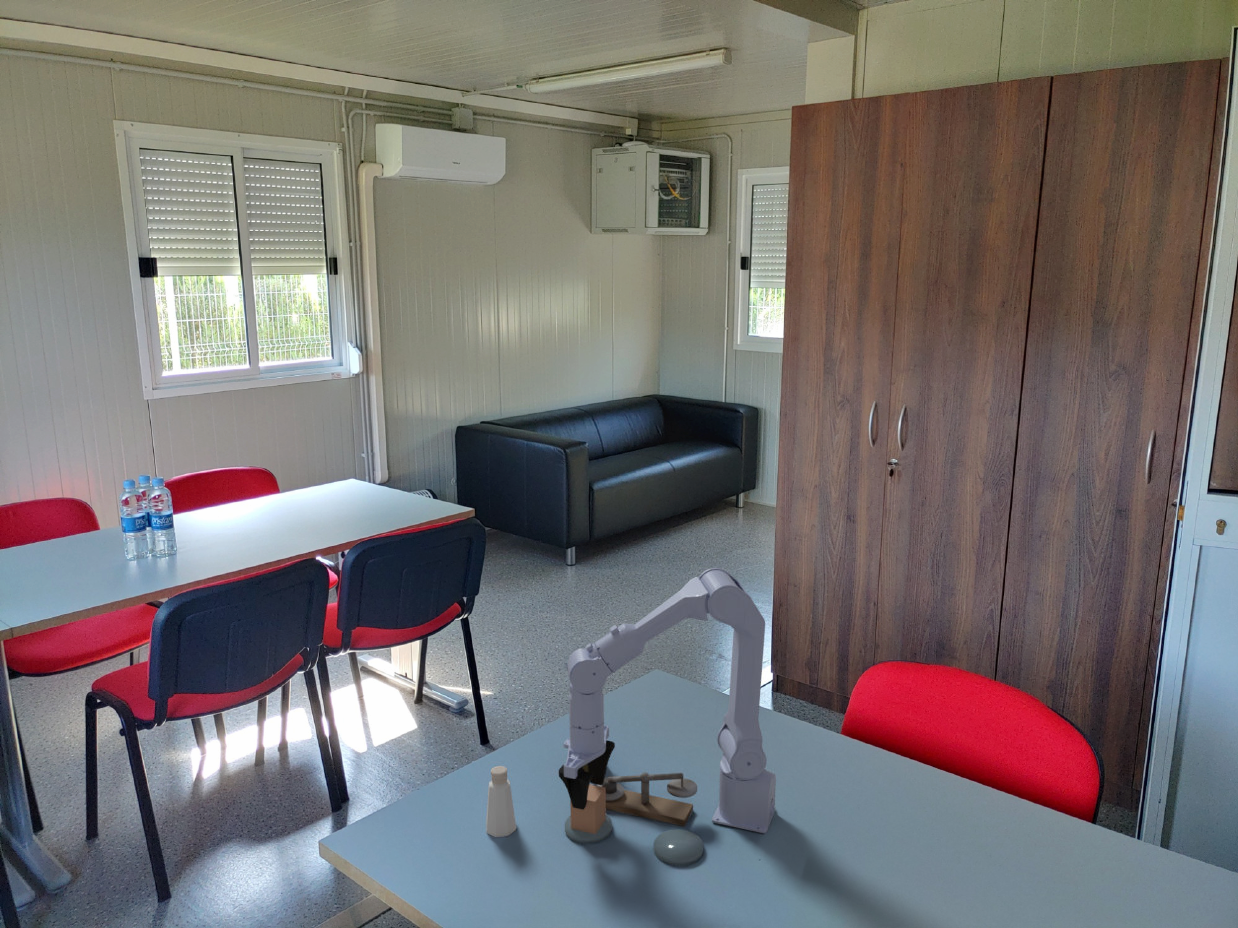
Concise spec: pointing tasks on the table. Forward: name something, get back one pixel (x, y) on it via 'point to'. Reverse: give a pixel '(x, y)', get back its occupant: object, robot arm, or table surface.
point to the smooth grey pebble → (678, 847)
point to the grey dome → (588, 837)
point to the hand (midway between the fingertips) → (588, 794)
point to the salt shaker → (500, 804)
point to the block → (590, 811)
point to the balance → (651, 797)
